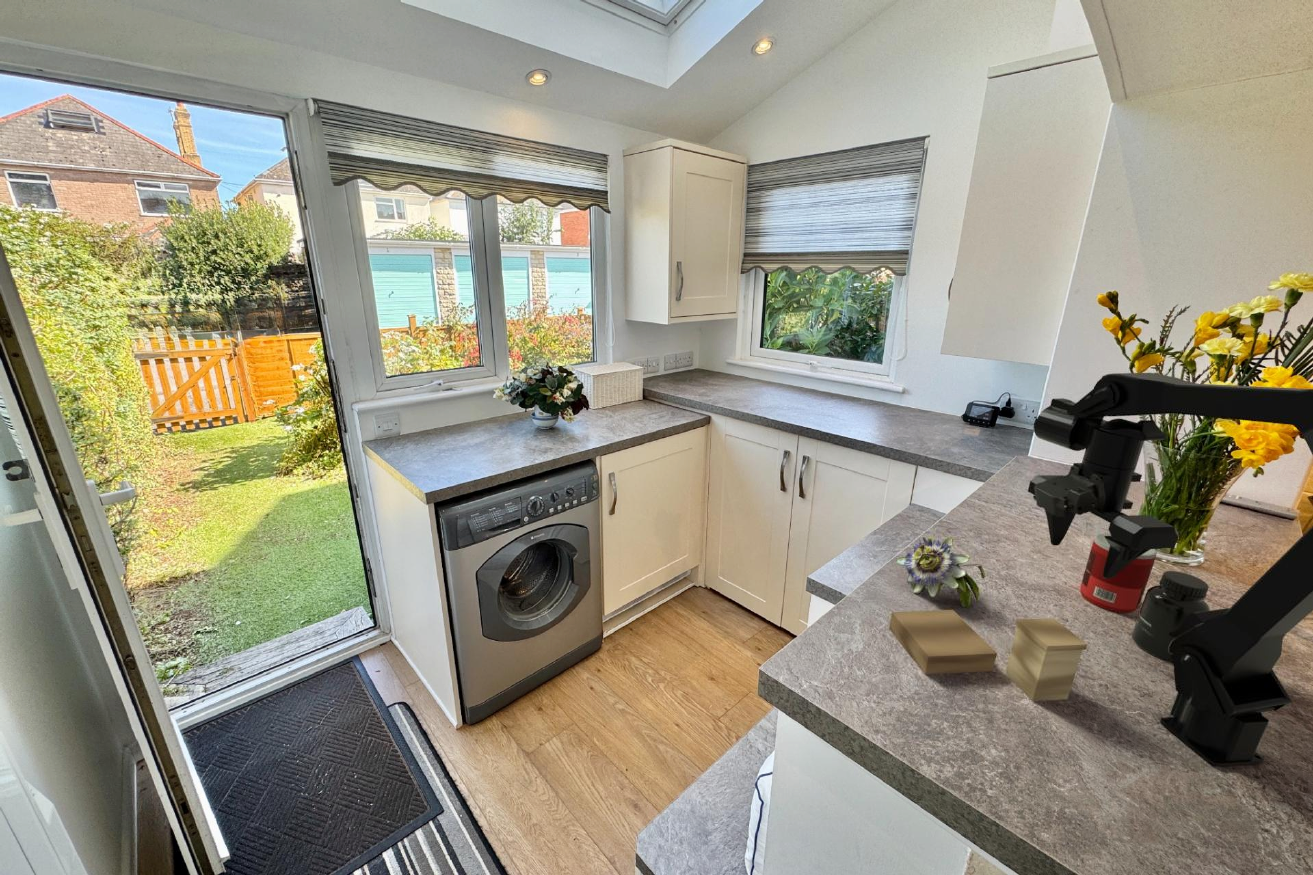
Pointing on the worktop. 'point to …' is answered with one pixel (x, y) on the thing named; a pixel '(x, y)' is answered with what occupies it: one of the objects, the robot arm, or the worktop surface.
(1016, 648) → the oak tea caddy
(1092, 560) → the canned food
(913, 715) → the worktop surface
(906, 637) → the walnut block
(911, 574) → the passion flower
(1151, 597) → the supplement bottle
